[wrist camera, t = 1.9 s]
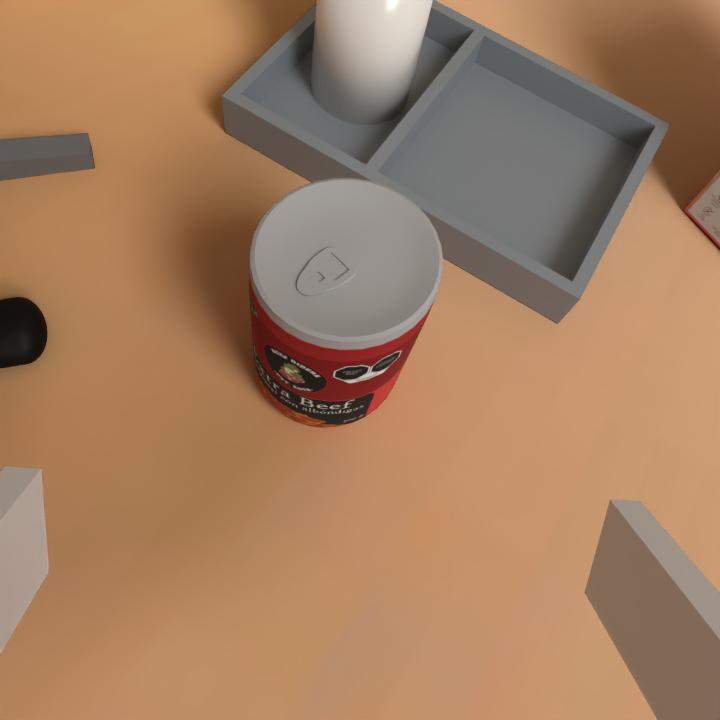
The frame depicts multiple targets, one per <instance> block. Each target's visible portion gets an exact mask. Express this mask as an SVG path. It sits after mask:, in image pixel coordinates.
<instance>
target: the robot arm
mask: <svg viewBox="0 0 720 720" xmlns="http://www.w3.org/2000/svg"><path fill="white" fill-rule="evenodd" d="M48 573H49V563H48V550H47V536H46V523H45V510H44V497H43V484H42V470H41V468H23V467H4V468H3V469H2V470H1V471H0V654H1V652H2V650H3V649H4V647H5V645H6V644H7V642H8V640H9V639H10V637H11V635H12V634H13V632H14V630H15V628H16V627H17V625H18V623H19V622H20V620H21V618H22V617H23V615H24V613H25V612H26V610H27V608H28V606H29V605H30V603H31V601H32V600H33V598H34V596H35V595H36V593H37V591H38V590H39V588H40V586H41V584H42V583H43V581H44V579H45V578H46V576H47V574H48ZM585 594H586V596H587V597H588V599H589V601H590V603H591V604H592V606H593V608H594V610H595V611H596V613H597V615H598V617H599V618H600V620H601V622H602V624H603V625H604V627H605V629H606V630H607V632H608V634H609V636H610V637H611V639H612V641H613V643H614V644H615V646H616V648H617V650H618V651H619V653H620V655H621V657H622V658H623V660H624V662H625V664H626V665H627V667H628V669H629V671H630V672H631V674H632V676H633V678H634V679H635V681H636V683H637V685H638V686H639V688H640V690H641V691H642V693H643V695H644V697H645V698H646V700H647V702H648V704H649V705H650V707H651V709H652V711H653V712H654V714H655V716H656V718H657V719H658V720H720V593H719V592H718V591H717V590H716V588H715V587H714V586H713V585H712V584H711V583H710V581H709V580H708V579H707V578H706V577H705V576H704V574H703V573H702V572H701V571H700V570H699V569H698V567H697V566H696V565H695V564H694V563H693V562H692V560H691V559H690V558H689V557H688V556H687V555H686V554H685V552H684V551H683V550H682V549H681V548H680V547H679V545H678V544H677V543H676V542H675V541H674V540H673V538H672V537H671V536H670V535H669V534H668V533H667V531H666V530H665V529H664V528H663V527H662V526H661V524H660V523H659V522H658V521H657V520H656V519H655V517H654V516H653V515H652V514H651V513H650V512H649V510H648V509H647V508H646V507H645V506H644V505H643V503H642V502H641V501H630V500H611V499H610V502H609V505H608V509H607V513H606V516H605V520H604V524H603V527H602V531H601V535H600V539H599V542H598V546H597V550H596V553H595V557H594V561H593V564H592V568H591V572H590V575H589V579H588V583H587V586H586V590H585Z"/></svg>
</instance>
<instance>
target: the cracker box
mask: <svg viewBox="0 0 720 720" xmlns="http://www.w3.org/2000/svg"><path fill="white" fill-rule="evenodd" d="M684 211H685V212H686V213H687V214H688V215H689V216H690V217H691V218H692V219H693V220H694V221H695V222H696V223H697V224H698V225H699V227H700V228H701V229H702V230H703V231H704V232H705V233H706V234H707V235H708V236H709V237H710V238H711V239H712V240H713V241H714V242H715V243H716V244H717V246H718V247H719V248H720V170H719V172H718V173H717V174H716V175H715V176H714V177H713V179H712V180H711V181H710V182H709V183H708V184H707V185H706V186H705V187H704V188H703V189H702V190H701V191H700V192H699V193H698V194H697V195H696V197H695V198H694V199H693V200H692V201H691V202H690V203H689V204H688V205H687V206H686V208H685V209H684Z"/></svg>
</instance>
